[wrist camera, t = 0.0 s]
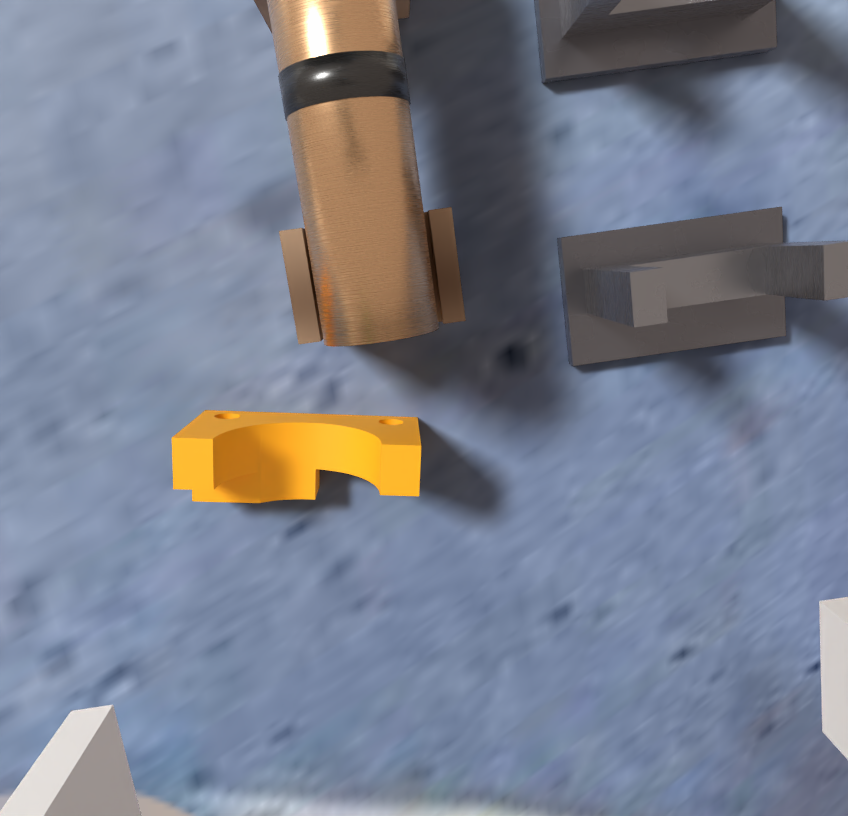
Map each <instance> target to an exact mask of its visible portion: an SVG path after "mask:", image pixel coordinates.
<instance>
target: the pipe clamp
mask: <svg viewBox="0 0 848 816" xmlns="http://www.w3.org/2000/svg"><path fill="white" fill-rule="evenodd" d="M172 460H173V489H189V490H192V501H203V502H239V503H262V502H268V501H276V500H289V499H312V500H315V499H316V496H317V493H318V489H319V480H320V470H330V471H336V472H342V473H347V474H351V475H354V476H357V477H360V478H363V479H365V480H367V481H369V482H371V483H372V484H374V485H375V486H376V487H377V488H378V490H379V492H380V495H396V496H419V487H420V464H421V440H420V432H419V425H418V417H394V416H364V415H334V414H304V413H275V412H245V411H215V410H205V411H204V412H203V413H202V414H200V415H199V416H198V417H197V418H195V419H194V420H193V421H192V422H190V423H189V424H188V425H187V426H186V427H184V428H183V429H182V430H181V431H179V432H178V433H177V434H176V435H175V436H173V437H172Z"/></svg>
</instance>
